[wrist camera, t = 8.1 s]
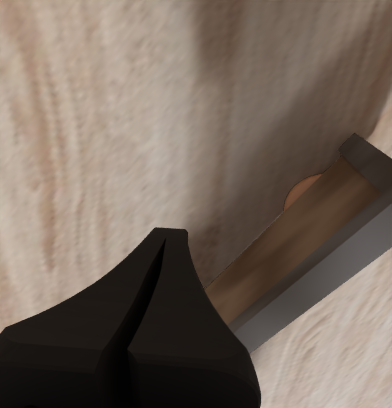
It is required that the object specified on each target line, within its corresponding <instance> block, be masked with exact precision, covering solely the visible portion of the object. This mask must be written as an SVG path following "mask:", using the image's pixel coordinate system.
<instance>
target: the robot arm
mask: <svg viewBox="0 0 392 408" xmlns="http://www.w3.org/2000/svg"><path fill="white" fill-rule="evenodd" d="M260 406H261V391H260V387H259V382H258V378H257V375H256V372H255V369H254V366H253V363H252V360H251V358H250V355H249V352H248V350H247V348H246V347H245V346H244V345H243V344H242V343H241V341H240V340H239V339H238V338H237V337H236V336H235V335H234V333H233V332H232V331H231V330H230V328H229V327H228V326H227V325H226V323H225V322H224V321H223V319H222V318H221V316H220V315H219V313H218V312H217V310H216V309H215V307H214V306H213V304H212V303H211V301H210V299H209V298H208V296H207V294H206V292H205V290H204V288H203V287H202V285H201V282H200V280H199V278H198V276H197V273H196V270H195V268H194V265H193V262H192V259H191V255H190V252H189V247H188V232H187V231H186V230H185V229H173V228H157V227H155V228H154V229H153V230H152V231H151V232H150V233H149V234H148V236H147V237H146V238H145V239H144V240H143V241H142V242H141V243H140V244H139V245H138V246H137V247H136V248H135V249H134V250H133V251H132V252H131V253H130V254H129V255H128V256H127V257H126V258H125V259H124V260H123V261H121V262H120V263H119V264H118V265H117V266H116V267H115V268H113V269H112V270H111V271H110V272H109V273H107V274H106V275H105V276H103V277H102V278H101V279H99V280H98V281H96V282H95V283H94V284H92V285H90V286H89V287H87V288H86V289H84V290H82V291H81V292H79V293H77V294H76V295H74V296H72V297H71V298H69V299H67V300H65V301H63V302H61V303H60V304H58V305H56V306H54V307H52V308H50V309H48V310H46V311H43V312H41V313H39V314H37V315H34V316H32V317H30V318H27V319H25V320H22V321H20V322H18V323H15V324H13V325H10V326H8V327H5V329H4V330H3V331H2V332H1V333H0V408H260Z"/></svg>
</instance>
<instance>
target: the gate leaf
mask: <svg viewBox="0 0 392 408" xmlns="http://www.w3.org/2000/svg"><path fill="white" fill-rule="evenodd" d="M338 151H339V152H340V153H341V154H342V156H341V157H340V158H339V159H338V160H337V161H336V162H335V163H334V164H332V165H331V166H330V167H329V168H328V169H327V170H326V171H325V172H324V173H323V174H322V175H321V176H320V177H319V178H318V179H317V180H316V181H315V182H314V183H313V184H312V185H311V186H310V187H309V188H308V189H307V190H306V191H305V192H304V193H303V194H302V195H301V196H300V197H299V198H298V199H297V200H296V201H295V202H294V203H293V204H292V205H291V206H290V207H289V208H288V209H287V210H286V211H285V212H283V213H282V214H281V215H280V216H279V217H278V218H277V219H276V220H275V221H274V222H273V223H272V224H271V225H270V226H269V227H268V228H267V229H266V230H265V231H264V232H263V233H262V234H261V235H260V236H259V237H258V238H257V239H256V240H255V241H254V242H253V243H252V244H251V245H250V246H249V247H248V248H247V249H246V250H245V251H244V252H243V253H242V254H241V255H240V256H239V257H238V258H237V259H236V260H234V261H233V262H232V263H231V264H230V265H229V266H228V267H227V268H226V269H225V270H224V271H223V272H222V273H221V274H220V275H219V276H218V277H217V278H216V279H215V280H214V281H213V282H212V283H211V284H210V285H209V286H208V287H207V288H206V289H205V292H206V294H207V296H208V298H209V299H210V301H211V303H212V304H213V306H214V307H215V309H216V310H217V312H218V313H219V315H220V316H221V318H222V319H223V321H224V322H225V323H226V325H227V326H228V327H229V328H230V330H231V331H232V332H233V333H234V335H235V336H236V337H237V338H238V339H239V340H240V341H241V343H242V344H243V345H244V346H245V347H246V348H247V350H248V352H249V354H250V353H251V352H252V351H254V350H255V349H256V348H258V347H259V346H260V345H262V344H263V343H264V342H266V341H267V340H268V339H270V338H271V337H272V336H274V335H275V334H276V333H278V332H279V331H280V330H282V329H283V328H284V327H286V326H287V325H288V324H290V323H291V322H292V321H294V320H295V319H296V318H298V317H299V316H300V315H302V314H303V313H304V312H306V311H307V310H308V309H310V308H311V307H312V306H314V305H315V304H317V303H318V302H319V301H321V300H322V299H323V298H325V297H326V296H327V295H329V294H330V293H331V292H333V291H334V290H335V289H337V288H338V287H339V286H341V285H342V284H343V283H345V282H346V281H347V280H349V279H350V278H351V277H353V276H354V275H355V274H357V273H358V272H359V271H361V270H362V269H363V268H365V267H366V266H367V265H369V264H370V263H371V262H373V261H374V260H375V259H377V258H378V257H379V256H381V255H382V254H383V253H385V252H386V251H387V250H389V249H390V248H391V247H392V159H391V158H390V157H389V156H387V155H386V154H384V153H383V152H381V151H380V150H379V149H377V148H376V147H374V146H373V145H372V144H370V143H369V142H367V141H366V140H364V139H363V138H362V137H360V136H359V135H357V134H356V133H354V134H353V135H352V136H351V137H350V138H349V139H348V140H347V141H346V142H345V143H344V144H343V145H342V146H341V147H340V148H339V149H338Z"/></svg>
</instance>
